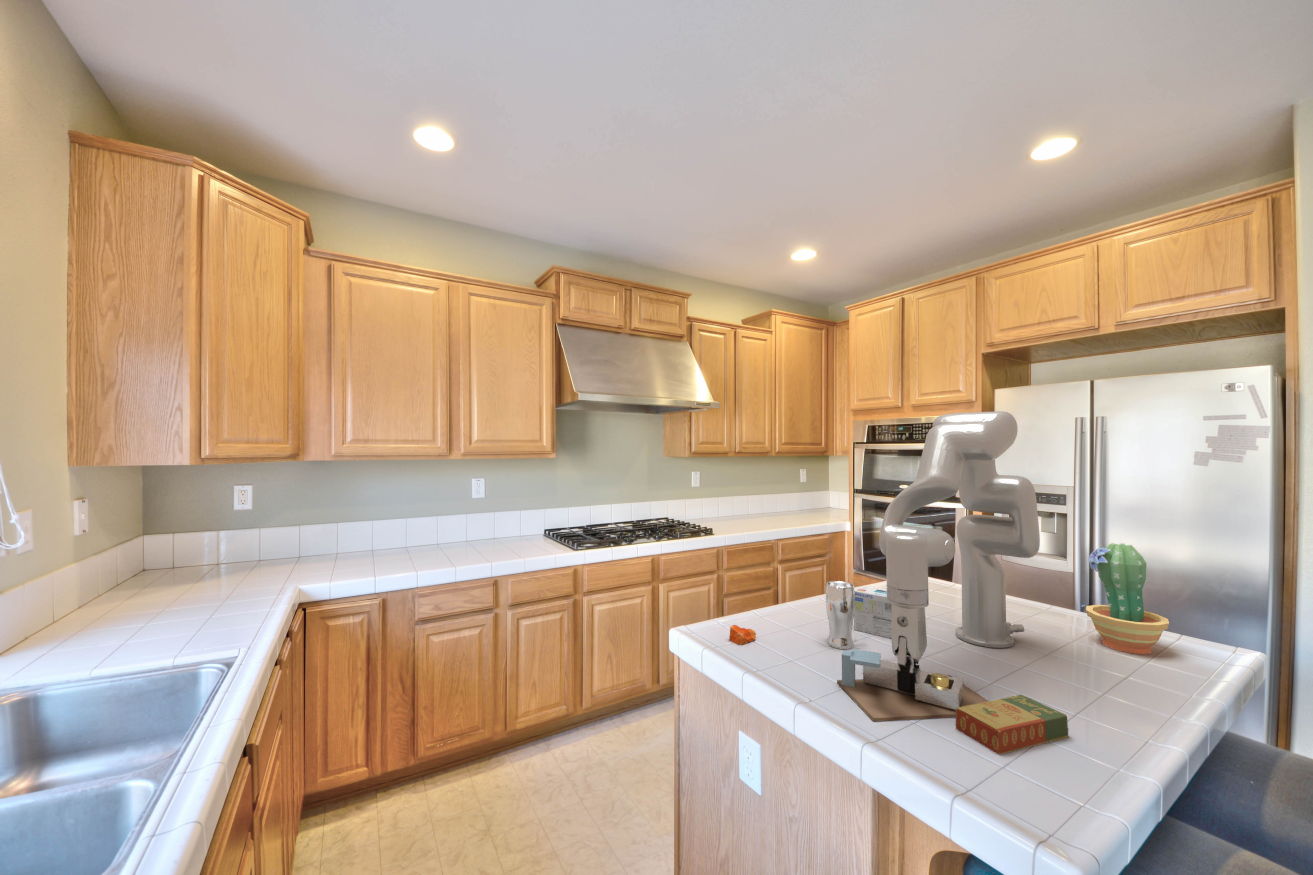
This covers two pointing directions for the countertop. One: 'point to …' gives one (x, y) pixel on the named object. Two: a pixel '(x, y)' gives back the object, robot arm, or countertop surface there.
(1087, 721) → the countertop surface
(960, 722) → the carton
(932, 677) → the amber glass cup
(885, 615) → the light bulb box
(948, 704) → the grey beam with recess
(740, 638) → the rock
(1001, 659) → the countertop surface
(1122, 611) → the potted cactus
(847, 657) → the bracket
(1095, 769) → the countertop surface
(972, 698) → the board
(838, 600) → the beer glass
